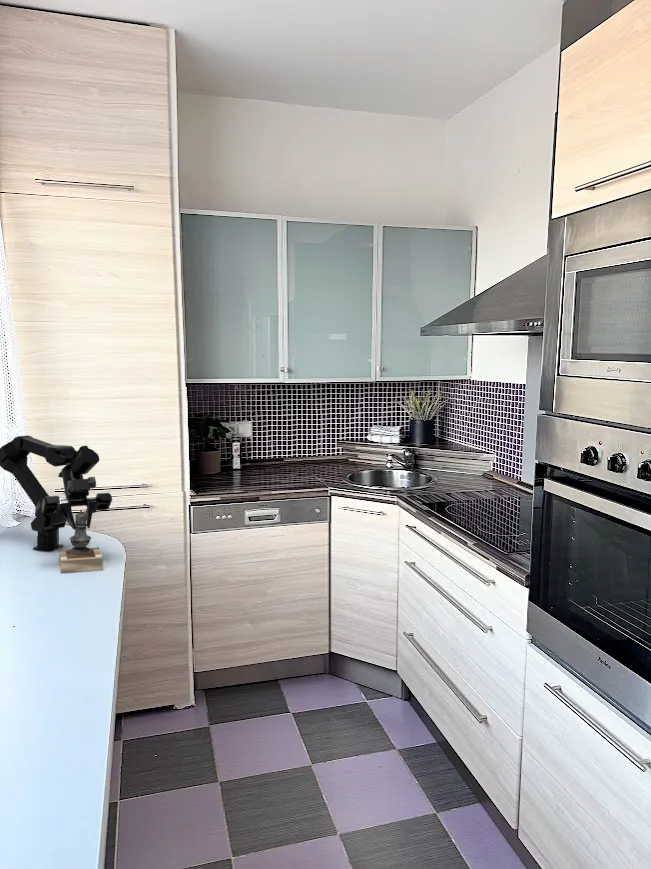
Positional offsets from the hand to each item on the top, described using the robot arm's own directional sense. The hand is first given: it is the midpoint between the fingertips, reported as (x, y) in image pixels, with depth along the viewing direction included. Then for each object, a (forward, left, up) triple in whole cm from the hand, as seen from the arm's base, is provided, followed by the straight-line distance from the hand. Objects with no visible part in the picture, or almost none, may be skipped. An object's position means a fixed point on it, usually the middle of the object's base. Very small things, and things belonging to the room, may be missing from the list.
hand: (81, 528), depth 188 cm
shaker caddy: (-1, -1, -11) cm, 11 cm away
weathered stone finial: (-1, -1, -7) cm, 7 cm away
